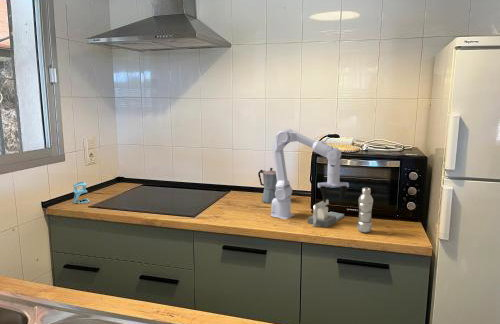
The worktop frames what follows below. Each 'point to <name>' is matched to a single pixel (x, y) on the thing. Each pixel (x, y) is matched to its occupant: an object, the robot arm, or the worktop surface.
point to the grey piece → (315, 211)
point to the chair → (79, 192)
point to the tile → (338, 215)
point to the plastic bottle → (365, 210)
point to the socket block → (323, 221)
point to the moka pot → (268, 185)
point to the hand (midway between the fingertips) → (332, 201)
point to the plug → (323, 213)
